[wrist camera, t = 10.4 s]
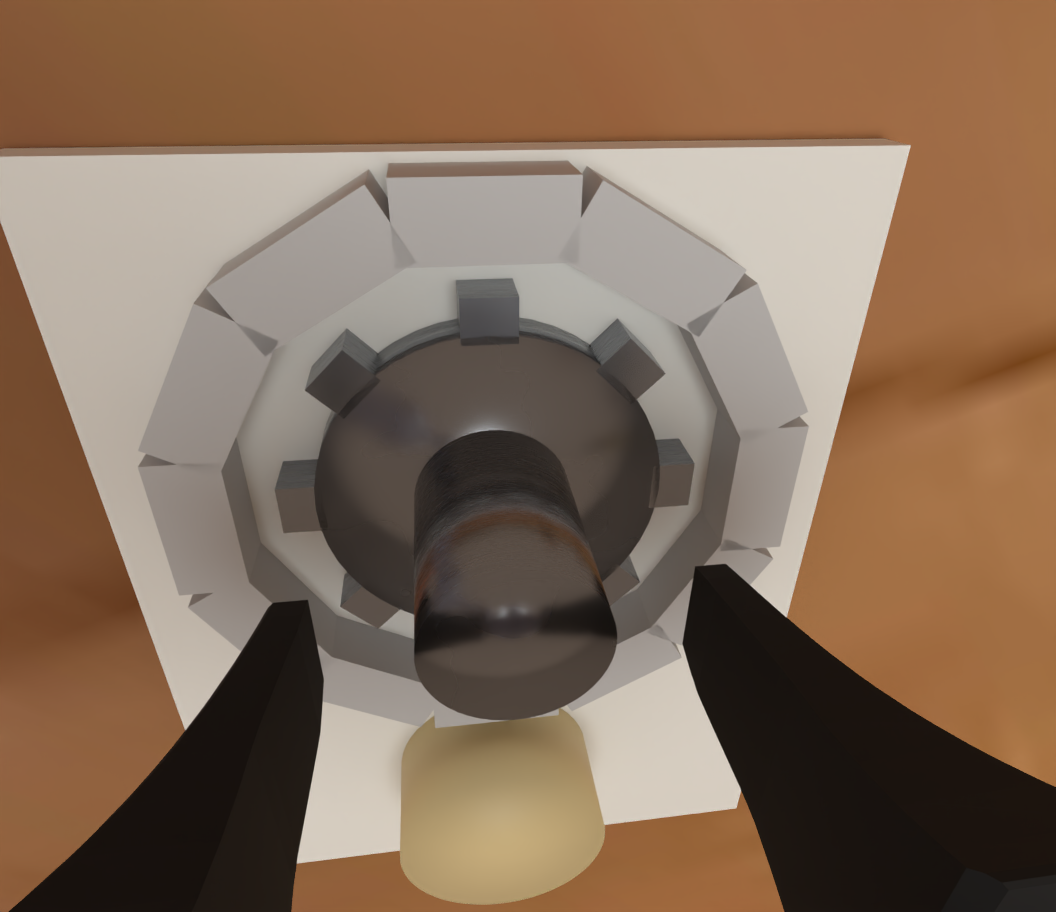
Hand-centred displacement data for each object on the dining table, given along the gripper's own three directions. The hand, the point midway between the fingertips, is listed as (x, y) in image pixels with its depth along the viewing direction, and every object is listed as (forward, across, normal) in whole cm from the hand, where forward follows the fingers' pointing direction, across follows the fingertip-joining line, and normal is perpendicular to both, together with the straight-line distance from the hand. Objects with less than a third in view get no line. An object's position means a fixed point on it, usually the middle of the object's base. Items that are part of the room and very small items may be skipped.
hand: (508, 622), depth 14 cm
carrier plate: (+6, 0, +4) cm, 7 cm away
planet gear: (+5, 0, 0) cm, 5 cm away
